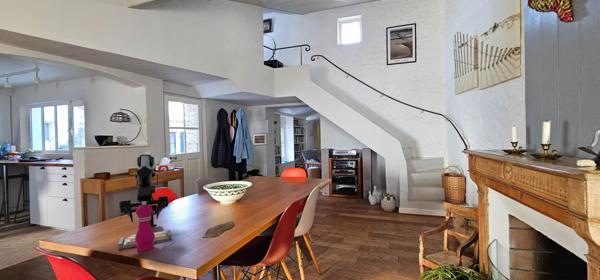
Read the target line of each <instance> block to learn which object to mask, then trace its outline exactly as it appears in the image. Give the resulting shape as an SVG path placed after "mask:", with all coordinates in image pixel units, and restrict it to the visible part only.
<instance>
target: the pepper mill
mask: <svg viewBox="0 0 600 280" xmlns="http://www.w3.org/2000/svg"><path fill="white" fill-rule="evenodd" d="M151 213H152V207H151V206H150V205H146V201H143V202H142V205H141V206H139V207H138V208H137V207H136V210H135V214H136V216H137V221H138V226H139V227H137V228H138V229H137V232H136V237H135V242H136V243H137V244H138V245H137V246H136V251H137V252H145V251H149V250H152V249H153V248H154V247H155V243H154V242H152V241H153V240H154V238H155V234H154V233H155V232H154V230H153V227H151V225H150V219H151V215H150V214H151Z"/></svg>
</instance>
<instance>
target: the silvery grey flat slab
mask: <svg viewBox="0 0 600 280" xmlns="http://www.w3.org/2000/svg"><path fill="white" fill-rule="evenodd" d="M166 236H167V239H163V240H157V241H152V242H154V244H156V243H162V242H168V241H171V240H172V233H171V229H167V232H166ZM124 242H125V236H124V237H123V236H122V237H120V239H119V241H118V250H119V249H120V250H124V248H125V249H129V248H130V249H131V248H135V247H136V248H137V245H138V244H135V245H129V246H124Z"/></svg>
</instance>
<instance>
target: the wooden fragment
mask: <svg viewBox="0 0 600 280" xmlns="http://www.w3.org/2000/svg"><path fill="white" fill-rule="evenodd" d="M235 226H236V225H235V222H234V221H233V220H231V221H227V222H224V223H220V224H217V225H214V226H211V227H209V228H207V230H206V231H205V233H204V235H203V236H202V239H209V238H215V237H220V235H221V234H223V233H224V232H225V231H229V230H232V229H233V227H235Z"/></svg>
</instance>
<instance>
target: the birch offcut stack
mask: <svg viewBox="0 0 600 280" xmlns="http://www.w3.org/2000/svg"><path fill="white" fill-rule="evenodd" d="M166 233H167V232H166V230H163V231H157V232H154V234H155V238H154V240H153V241H157V240H163V239H167V236H166ZM136 234H137V233H136ZM136 234H131V235H130V236H128V237H127V238H124V241H125V242H124V246H129V245H135V244H137V243H136V242H135V237H136Z"/></svg>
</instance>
